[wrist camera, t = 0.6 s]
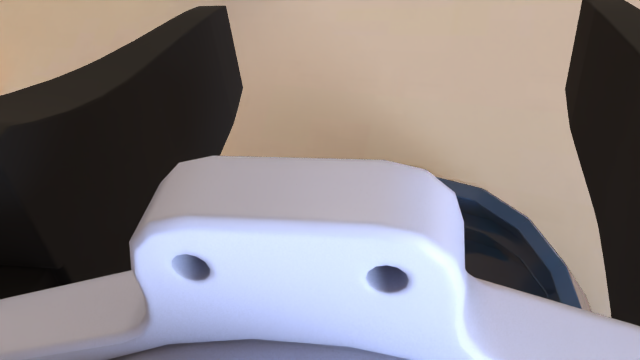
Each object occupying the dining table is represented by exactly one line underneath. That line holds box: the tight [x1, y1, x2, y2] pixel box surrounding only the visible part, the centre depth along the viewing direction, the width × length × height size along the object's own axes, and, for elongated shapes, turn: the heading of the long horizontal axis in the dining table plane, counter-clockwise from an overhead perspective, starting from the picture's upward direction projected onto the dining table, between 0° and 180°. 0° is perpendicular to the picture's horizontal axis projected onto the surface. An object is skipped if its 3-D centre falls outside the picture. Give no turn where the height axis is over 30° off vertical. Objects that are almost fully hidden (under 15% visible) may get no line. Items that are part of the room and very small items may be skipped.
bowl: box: [436, 177, 592, 312], centre depth 25 cm, size 14×14×5 cm
